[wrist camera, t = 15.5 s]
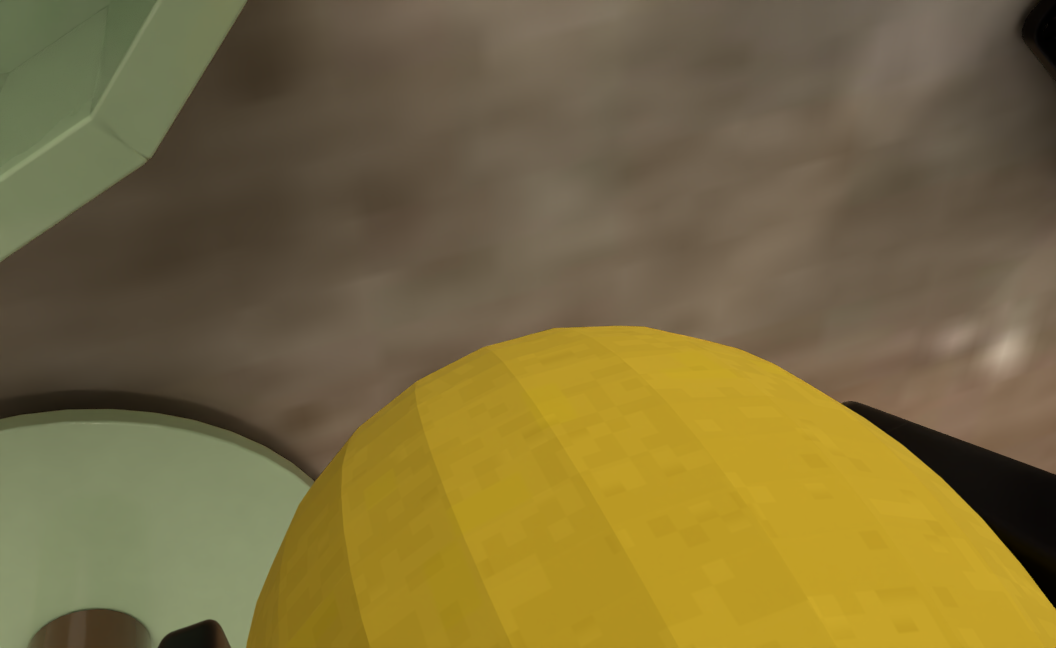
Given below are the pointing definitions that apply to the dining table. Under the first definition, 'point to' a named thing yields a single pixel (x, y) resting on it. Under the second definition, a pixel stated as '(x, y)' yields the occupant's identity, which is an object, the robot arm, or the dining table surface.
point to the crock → (91, 96)
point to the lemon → (636, 515)
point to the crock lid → (134, 527)
